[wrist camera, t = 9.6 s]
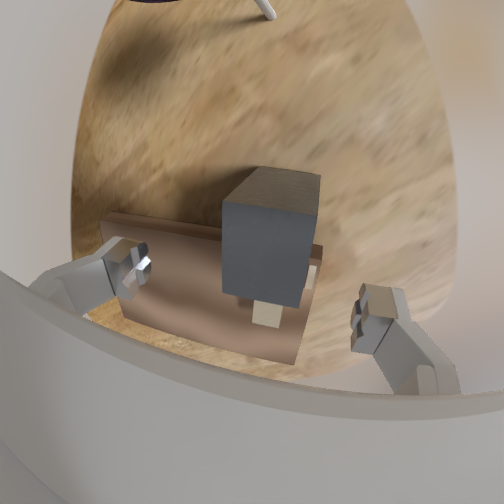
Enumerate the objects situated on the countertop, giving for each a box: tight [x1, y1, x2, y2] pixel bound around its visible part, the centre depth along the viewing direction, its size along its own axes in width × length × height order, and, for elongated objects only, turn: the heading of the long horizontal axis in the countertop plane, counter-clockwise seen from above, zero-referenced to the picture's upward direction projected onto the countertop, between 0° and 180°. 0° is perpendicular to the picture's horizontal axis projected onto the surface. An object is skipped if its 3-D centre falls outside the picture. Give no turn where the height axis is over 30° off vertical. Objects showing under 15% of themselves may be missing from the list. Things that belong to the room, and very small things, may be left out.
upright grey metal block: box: [222, 166, 321, 328], centre depth 17 cm, size 10×4×7 cm, turn 176°
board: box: [99, 212, 323, 365], centre depth 23 cm, size 12×19×2 cm, turn 86°
